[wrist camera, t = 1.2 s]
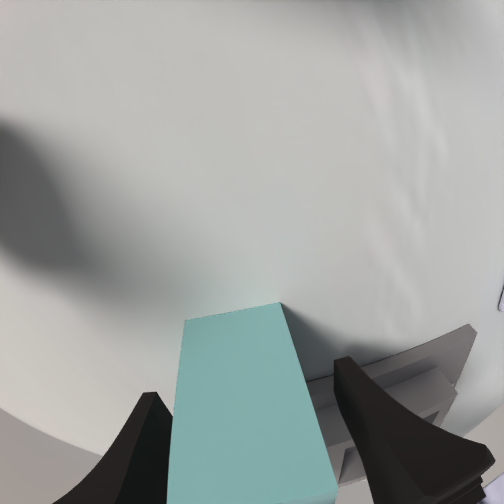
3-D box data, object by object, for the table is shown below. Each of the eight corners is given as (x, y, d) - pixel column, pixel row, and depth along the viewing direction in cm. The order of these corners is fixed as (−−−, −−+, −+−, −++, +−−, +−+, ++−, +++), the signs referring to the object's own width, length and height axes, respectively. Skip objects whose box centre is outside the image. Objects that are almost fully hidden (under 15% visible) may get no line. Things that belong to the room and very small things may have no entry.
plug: (279, 301, 12) (353, 541, 3) (291, 379, 14) (337, 551, 5) (185, 320, 12) (165, 559, 3) (215, 392, 14) (223, 567, 5)
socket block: (468, 323, 14) (499, 356, 11) (428, 421, 19) (443, 448, 16) (254, 393, 14) (262, 448, 11) (278, 470, 19) (285, 504, 16)
